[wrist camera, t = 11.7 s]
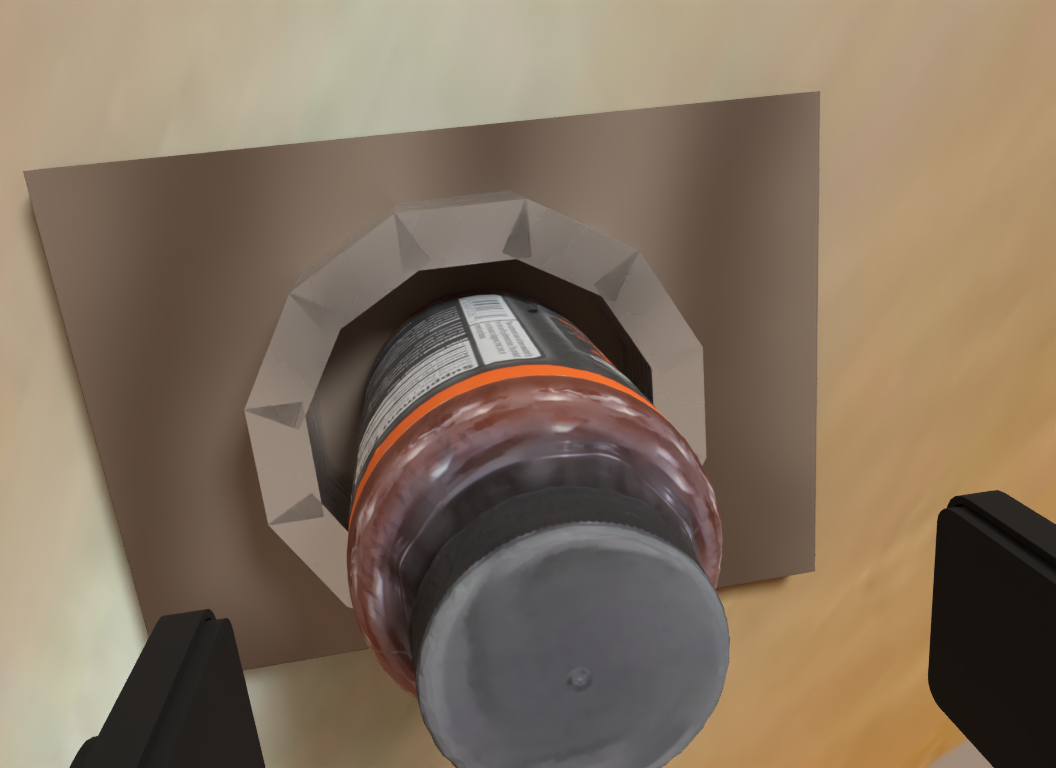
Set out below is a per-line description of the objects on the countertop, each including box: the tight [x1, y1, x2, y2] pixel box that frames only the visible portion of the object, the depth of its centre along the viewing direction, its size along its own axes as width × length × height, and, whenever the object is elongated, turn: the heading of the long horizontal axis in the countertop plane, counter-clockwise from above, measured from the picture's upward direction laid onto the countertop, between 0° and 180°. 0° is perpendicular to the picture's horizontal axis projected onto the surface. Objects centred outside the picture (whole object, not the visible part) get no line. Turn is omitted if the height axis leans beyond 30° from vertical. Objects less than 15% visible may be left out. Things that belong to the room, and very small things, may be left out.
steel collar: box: [244, 190, 707, 608], centre depth 20 cm, size 10×10×2 cm
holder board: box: [23, 91, 820, 670], centre depth 21 cm, size 18×13×1 cm
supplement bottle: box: [347, 290, 730, 768], centre depth 16 cm, size 6×6×11 cm
